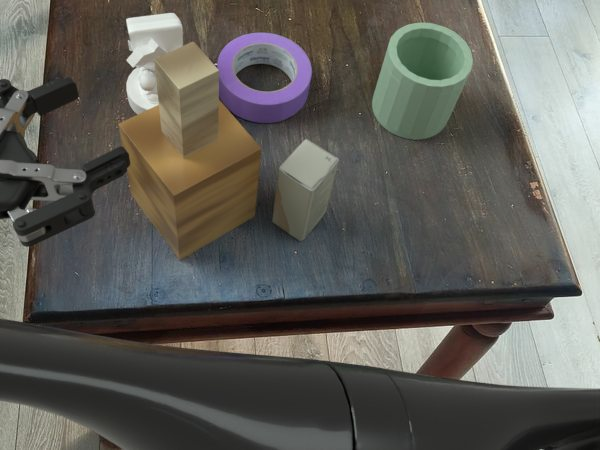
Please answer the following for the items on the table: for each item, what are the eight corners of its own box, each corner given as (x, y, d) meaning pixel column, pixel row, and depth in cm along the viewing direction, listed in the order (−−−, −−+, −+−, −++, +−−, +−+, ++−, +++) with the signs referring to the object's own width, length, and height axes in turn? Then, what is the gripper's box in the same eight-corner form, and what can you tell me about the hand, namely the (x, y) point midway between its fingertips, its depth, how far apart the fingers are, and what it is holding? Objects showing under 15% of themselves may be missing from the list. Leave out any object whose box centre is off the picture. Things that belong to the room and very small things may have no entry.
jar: (464, 118, 91) (490, 63, 82) (407, 152, 87) (428, 99, 78) (412, 68, 94) (432, 11, 86) (356, 99, 90) (371, 42, 82)
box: (296, 193, 82) (307, 135, 73) (326, 213, 81) (341, 157, 72) (269, 223, 80) (277, 167, 70) (300, 244, 79) (312, 190, 69)
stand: (254, 216, 80) (261, 148, 69) (179, 260, 76) (173, 196, 65) (205, 156, 83) (204, 82, 72) (131, 195, 80) (118, 123, 68)
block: (218, 141, 69) (219, 70, 60) (183, 159, 67) (179, 89, 59) (196, 113, 70) (193, 41, 61) (161, 131, 69) (153, 58, 60)
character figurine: (134, 127, 84) (122, 56, 74) (121, 68, 89) (109, -6, 78) (206, 116, 86) (205, 45, 76) (190, 59, 91) (187, -15, 80)
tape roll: (327, 94, 90) (331, 73, 87) (258, 139, 85) (259, 119, 82) (267, 40, 94) (269, 18, 91) (197, 80, 89) (197, 59, 86)
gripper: (-73, 260, 47) (142, 151, 53) (-155, 118, 51) (50, 33, 58) (-38, 306, 53) (150, 204, 59) (-114, 175, 58) (67, 94, 64)
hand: (100, 120), depth 58 cm, fingers open, 8 cm apart
